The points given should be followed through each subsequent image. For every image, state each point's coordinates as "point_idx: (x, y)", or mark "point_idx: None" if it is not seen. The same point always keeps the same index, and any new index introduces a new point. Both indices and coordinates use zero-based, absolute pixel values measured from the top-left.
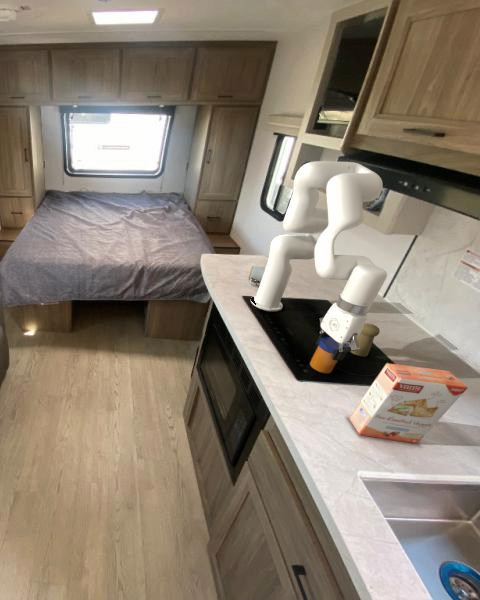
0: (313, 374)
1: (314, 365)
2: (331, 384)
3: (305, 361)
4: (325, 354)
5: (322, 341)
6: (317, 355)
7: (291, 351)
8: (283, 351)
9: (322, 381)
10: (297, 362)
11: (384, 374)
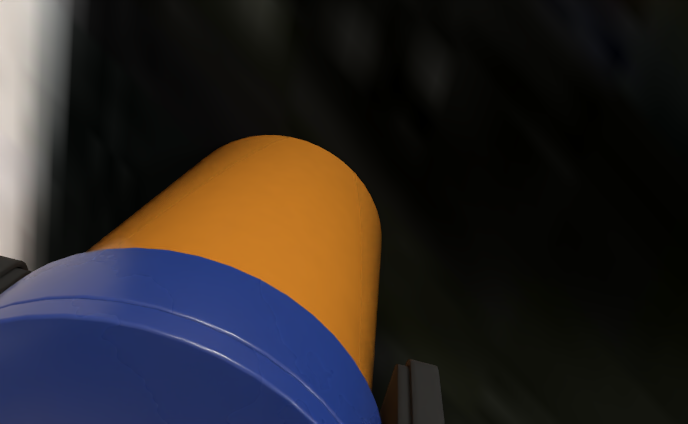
0: (183, 48)
1: (264, 146)
2: (24, 109)
3: (393, 151)
4: (107, 241)
5: (217, 391)
6: (251, 197)
7: (600, 140)
8: (648, 30)
9: (70, 51)
10: (406, 35)
11: None
